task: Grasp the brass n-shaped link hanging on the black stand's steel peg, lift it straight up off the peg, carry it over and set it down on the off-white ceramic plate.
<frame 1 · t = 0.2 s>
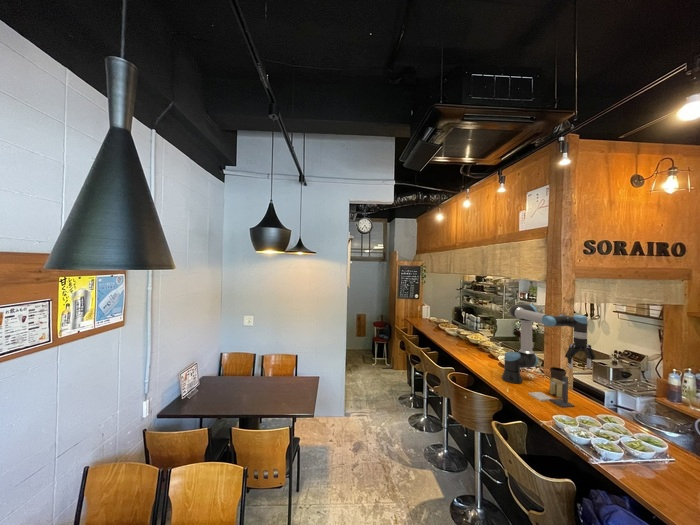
hand: (579, 368, 198), 27 cm above the counter, fingers open, 13 cm apart
plate: (540, 397, 213), on the counter
stand: (565, 403, 204), on the counter
beer stein: (556, 393, 220), on the counter
link: (555, 395, 202), point 6 cm above the counter, touching stand
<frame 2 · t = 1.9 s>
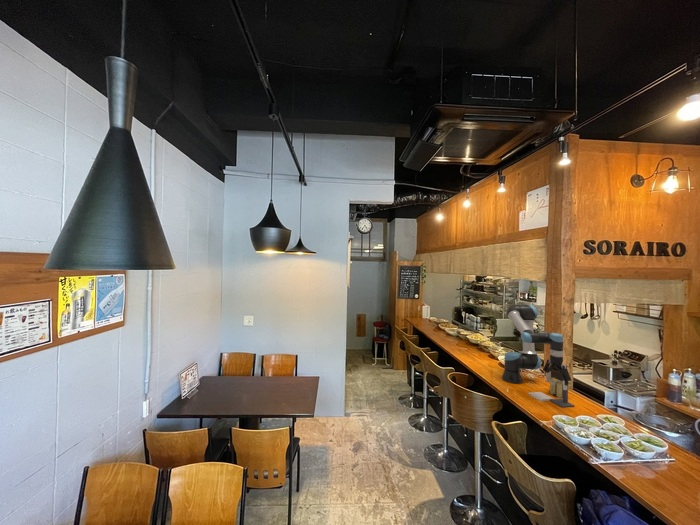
hand: (556, 385, 202), 13 cm above the counter, fingers open, 13 cm apart
nothing on the counter moved.
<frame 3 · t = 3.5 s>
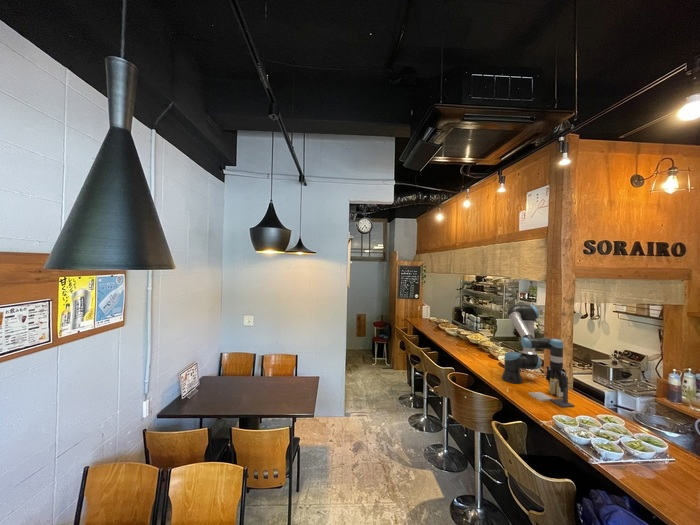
hand: (555, 393, 202), 8 cm above the counter, fingers closed on link, 7 cm apart
link: (555, 395, 202), point 6 cm above the counter, touching gripper, stand
everything else where it was.
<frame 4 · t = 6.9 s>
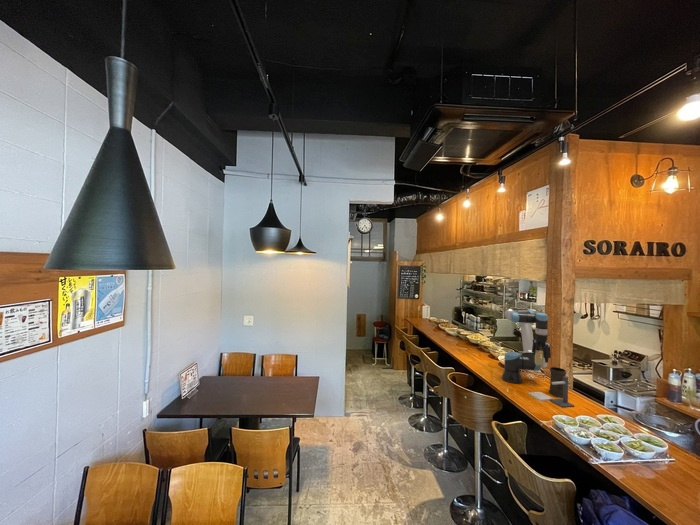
hand: (540, 364, 213), 24 cm above the counter, fingers closed on link, 7 cm apart
link: (540, 366, 213), point 23 cm above the counter, touching gripper
everything else where it was.
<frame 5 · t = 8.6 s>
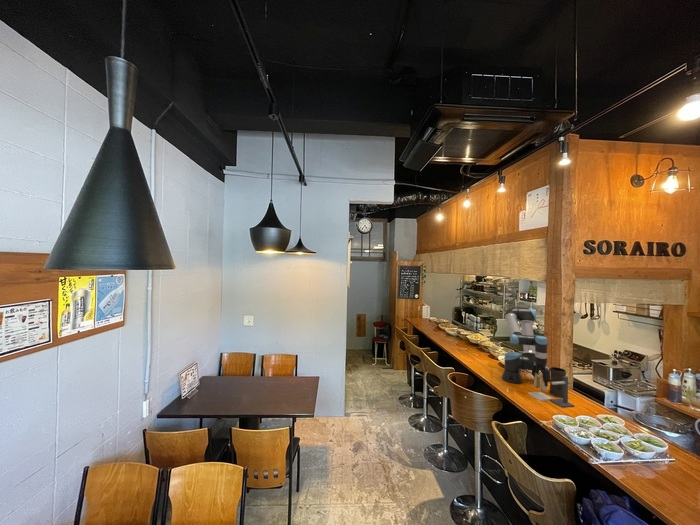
hand: (540, 387, 213), 7 cm above the counter, fingers closed on link, 7 cm apart
link: (540, 389, 213), point 6 cm above the counter, touching gripper
everything else where it was.
when the fingers open (3 cm above the counter, at t = 10.2 s): link stays where it is, resting on plate.
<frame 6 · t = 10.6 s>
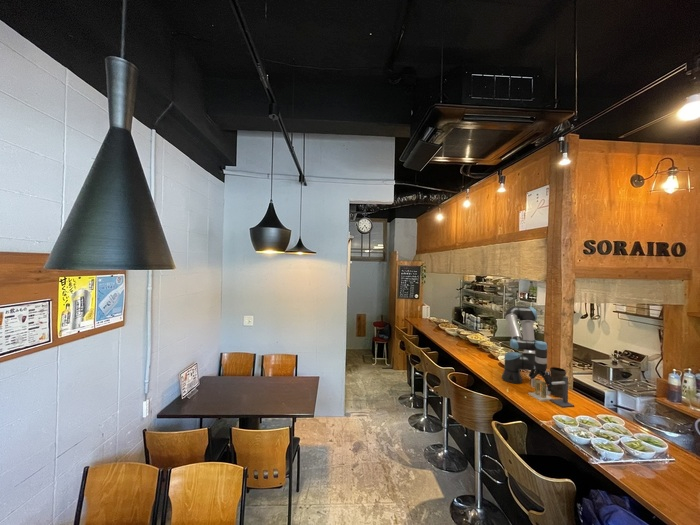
hand: (540, 391, 213), 5 cm above the counter, fingers open, 13 cm apart
link: (540, 395, 213), point 1 cm above the counter, touching plate
everything else where it was.
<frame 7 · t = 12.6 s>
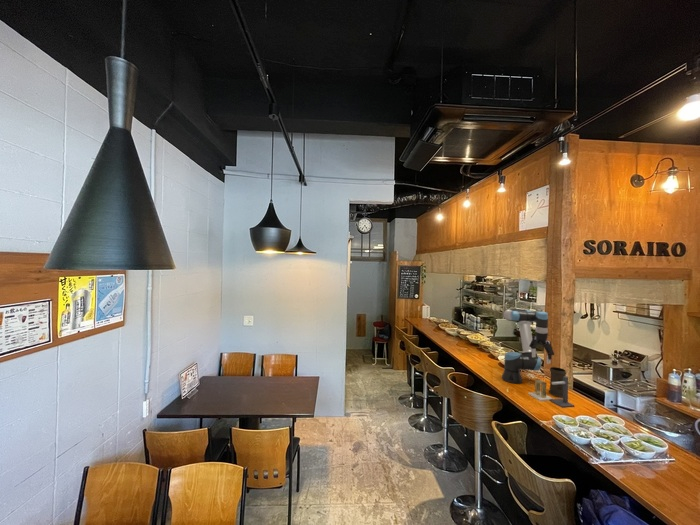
hand: (540, 360, 216), 27 cm above the counter, fingers open, 13 cm apart
nothing on the counter moved.
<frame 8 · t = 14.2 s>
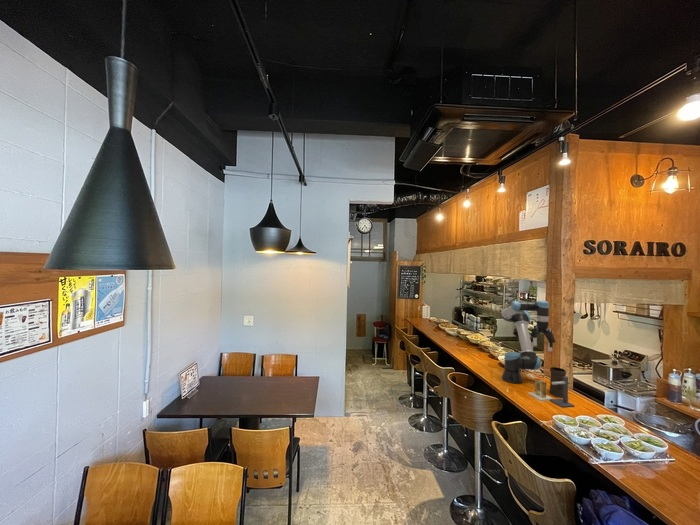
hand: (542, 348, 219), 35 cm above the counter, fingers open, 13 cm apart
nothing on the counter moved.
at the end: link inside the target area on the plate (0.0 cm from its centre), point 1.2 cm above the plate's base; the gripper is holding nothing; link touching plate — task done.
